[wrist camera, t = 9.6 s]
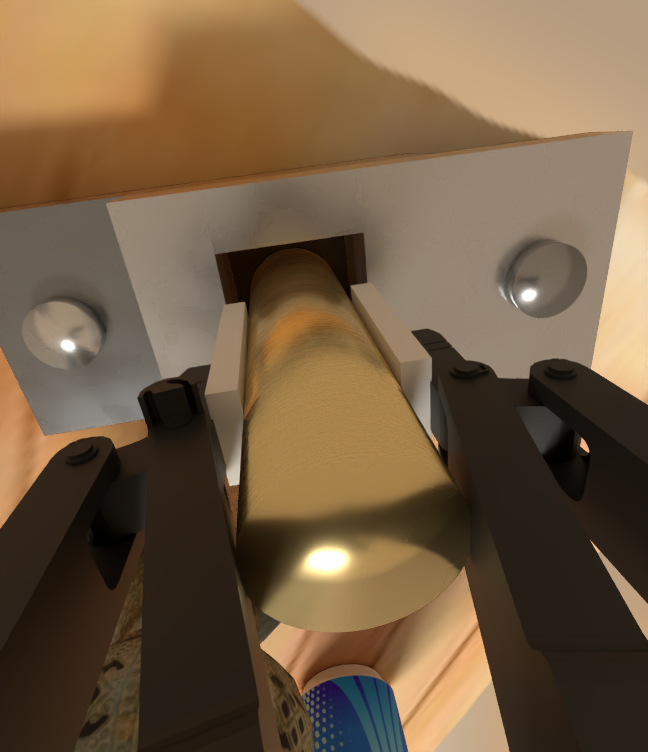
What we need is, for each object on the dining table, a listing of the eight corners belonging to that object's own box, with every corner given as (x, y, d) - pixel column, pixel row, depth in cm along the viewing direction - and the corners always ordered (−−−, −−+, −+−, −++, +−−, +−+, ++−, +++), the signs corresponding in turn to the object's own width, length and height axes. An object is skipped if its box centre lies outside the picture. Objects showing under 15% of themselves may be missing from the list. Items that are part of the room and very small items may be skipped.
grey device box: (63, 408, 24) (11, 480, 19) (-25, 212, 19) (-127, 236, 14) (533, 332, 26) (601, 380, 21) (554, 133, 21) (649, 130, 16)
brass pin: (259, 339, 22) (259, 649, 8) (242, 255, 20) (208, 483, 6) (342, 326, 22) (470, 608, 9) (333, 242, 20) (479, 436, 7)
